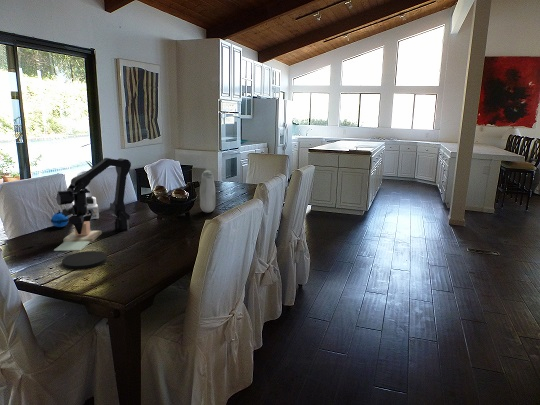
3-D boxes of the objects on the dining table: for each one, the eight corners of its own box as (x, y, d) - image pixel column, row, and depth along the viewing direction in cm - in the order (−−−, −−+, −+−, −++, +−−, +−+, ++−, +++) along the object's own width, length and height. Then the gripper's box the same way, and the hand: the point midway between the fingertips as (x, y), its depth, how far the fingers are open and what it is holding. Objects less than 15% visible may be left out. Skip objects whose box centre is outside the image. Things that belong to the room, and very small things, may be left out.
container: (85, 219, 232) (83, 198, 229) (84, 216, 239) (82, 196, 236) (99, 218, 236) (97, 197, 233) (98, 215, 242) (96, 195, 240)
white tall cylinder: (214, 214, 253) (213, 171, 247) (198, 213, 253) (198, 171, 247) (216, 210, 263) (216, 169, 256) (201, 210, 263) (201, 169, 257)
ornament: (52, 225, 219) (51, 208, 217) (69, 224, 222) (68, 207, 220) (51, 229, 211) (49, 212, 209) (68, 228, 215) (67, 211, 213)
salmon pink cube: (90, 232, 203) (89, 221, 202) (86, 235, 198) (85, 224, 196) (79, 232, 202) (78, 221, 201) (75, 235, 197) (74, 224, 196)
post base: (101, 233, 208) (100, 220, 206) (92, 241, 194) (91, 228, 193) (74, 233, 207) (73, 220, 205) (63, 241, 193) (62, 228, 191)
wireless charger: (60, 272, 157) (60, 268, 157) (64, 257, 173) (63, 253, 173) (107, 267, 164) (107, 262, 164) (106, 253, 180) (106, 249, 180)
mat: (89, 242, 193) (89, 241, 193) (80, 250, 182) (80, 249, 182) (64, 242, 192) (64, 241, 192) (54, 250, 180) (53, 249, 180)
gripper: (71, 198, 204) (73, 226, 208) (55, 206, 186) (58, 237, 190) (93, 198, 206) (95, 226, 209) (79, 206, 188) (82, 237, 191)
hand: (82, 231), depth 200 cm, fingers open, 9 cm apart
